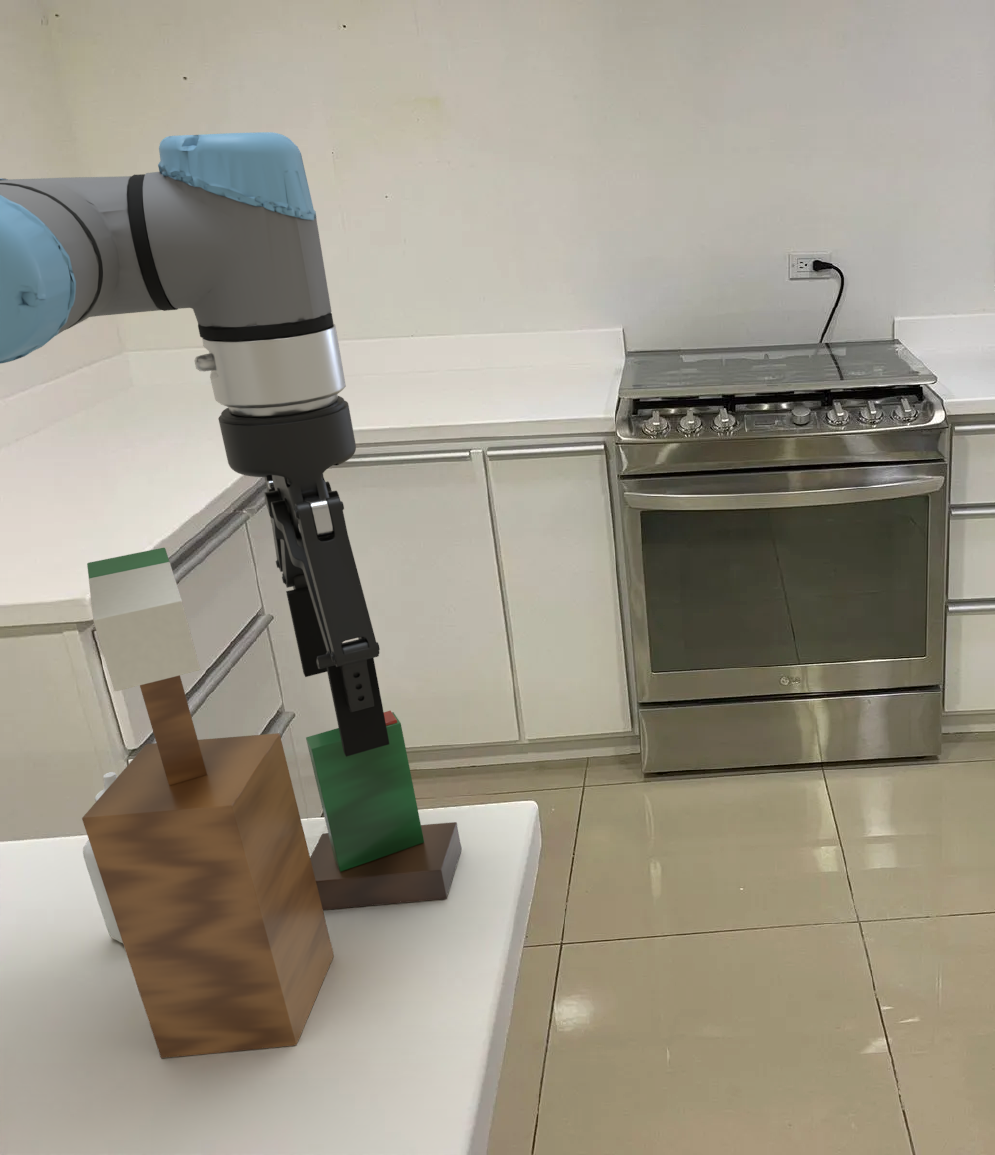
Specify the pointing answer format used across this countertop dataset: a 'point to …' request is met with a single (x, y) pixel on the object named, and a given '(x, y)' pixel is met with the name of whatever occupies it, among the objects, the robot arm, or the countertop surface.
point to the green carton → (366, 796)
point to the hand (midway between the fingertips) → (343, 707)
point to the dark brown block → (390, 872)
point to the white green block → (140, 619)
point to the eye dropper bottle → (96, 876)
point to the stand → (211, 885)
